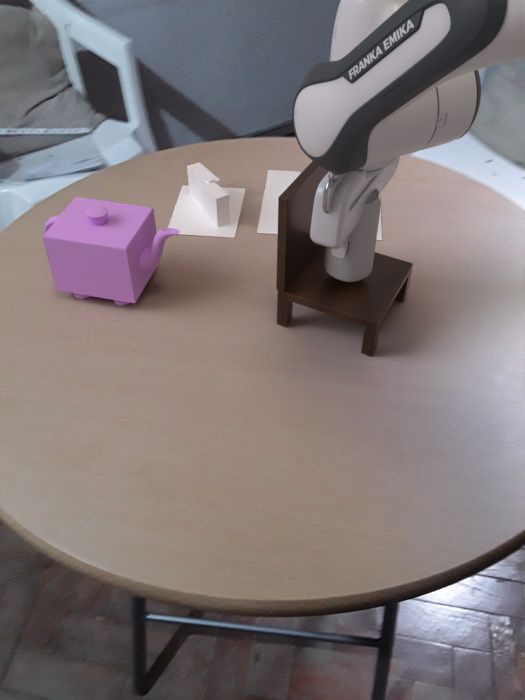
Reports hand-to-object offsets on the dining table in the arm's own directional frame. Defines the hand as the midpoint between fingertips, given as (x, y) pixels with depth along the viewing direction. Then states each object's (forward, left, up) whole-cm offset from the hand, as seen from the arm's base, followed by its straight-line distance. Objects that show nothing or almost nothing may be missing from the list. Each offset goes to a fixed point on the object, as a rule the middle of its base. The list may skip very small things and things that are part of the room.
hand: (351, 238), depth 87 cm
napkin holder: (+30, -13, -12) cm, 35 cm away
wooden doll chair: (0, 0, -12) cm, 12 cm away
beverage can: (0, 0, -5) cm, 5 cm away
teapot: (+31, +10, -12) cm, 35 cm away
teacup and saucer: (+14, -24, -12) cm, 31 cm away
